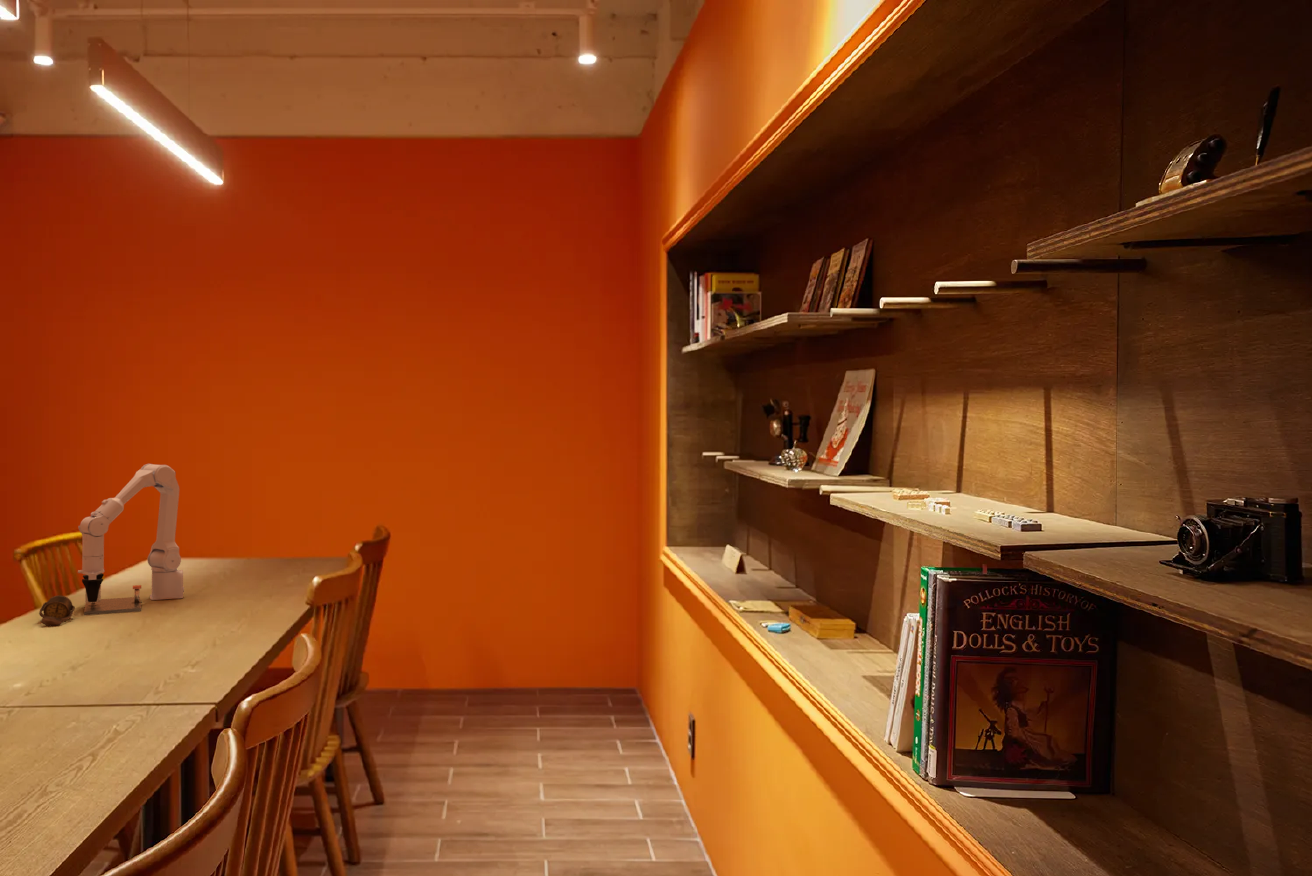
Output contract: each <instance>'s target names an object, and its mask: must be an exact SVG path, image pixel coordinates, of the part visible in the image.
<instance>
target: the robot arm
mask: <svg viewBox="0 0 1312 876" xmlns="http://www.w3.org/2000/svg"><path fill="white" fill-rule="evenodd" d="M147 487H154V488H155V489H156V490H157V492H159V494H160V495H159V506H158V507H159V509H158V517H157V519H158V520H157V528H156V540H155V542H154V543H152V545H151V548H150V552H149V553H148V555H147V564H148V566H149V567H150V568H151V569H150V570H151V594H150V595H149V597H150V598H149V599H150V601H157V600H171V599H183V598H184V592H185V587H184V570H183V569H178V568H179V567H180V565H181V562H182V556H181V555H180V546H178V544H177V543H176V531H177V522H178V521H177V520H178V510H179V508H178V507H179V499H180V485H179V483H178V480H177V477H176V471H175V470H174V469H173V468H172V467H171V466H169V465H167V464H153V463H146V464H143V466H141V468H140V469H139V470H136V471H135V474H134V475H133V477H132V478H131V479H130V480H129V482H127V484H126V485H125V486H124V487H122V489H121V490H120V492H119V493H117V494H116V496H115V497H109V498H107V499H103V500H102V501H101V505H100V506H99V507H97V508H96V509H95V511H92V512H91V513H90V516H86V517H84V518H83V519H82V520H81V521H80V524H79V525H78V526H77V527H78V531H79V533H80V534H81V537H82V549H81V550H82V558H81V559H82V560H81V561H82V565H81V569H80V570H79V569H78V570H77V574H83V575H82V578H81V583H82V585H83V586H84V588H85V594H86V593H87V598H88V602H96V601H97V598H98V592H99V588H100V585H101V586H102V583H103V581H104V579H103V578H104V573H105V567H104V566H105V565H104V564H105V561H104V559H105V555H104V554H105V549H104V548H105V534H107V532H108V531H109V526H110V524H112V522H113V521H115V519H116V518H117V517H118V516H119V515H120V514H121V513H122V512H123V511H124V508H125V504H127V502H129V501H130V500H131V499H132V498H133V497H134V496H135V495H137V494H138V493H139V492H140V491H141V490H142V489H144V488H147Z"/></svg>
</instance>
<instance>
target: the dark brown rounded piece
mask: <svg viewBox="0 0 1312 876" xmlns="http://www.w3.org/2000/svg"><path fill="white" fill-rule="evenodd" d="M75 607H76V606H74V605H73V602H72V600H71V599H70V598H69V597H67V596H65V595H54V596H52V597H50V599H48V601H46V602H43V604H42V606H41V608H40V609H39V613H38V614H39V616H40V617H41V619H40V622H41V623H42V624H43V625H44V626H47V627H56V626H61V624H63V622H65V621H67V620H69V619H70V618H71V617H72V616H73V613H74V611H75Z"/></svg>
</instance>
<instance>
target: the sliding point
mask: <svg viewBox="0 0 1312 876" xmlns="http://www.w3.org/2000/svg"><path fill="white" fill-rule="evenodd" d="M101 599H102V584H101V585H100V588H99V592H98V598H97V601H96V602H101ZM87 602H88V598H87V593H86V592H85V604H86V603H87ZM94 604H95V602H91V605H94Z"/></svg>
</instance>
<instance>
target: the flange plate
mask: <svg viewBox="0 0 1312 876" xmlns="http://www.w3.org/2000/svg"><path fill="white" fill-rule="evenodd" d="M140 589H142V585H141V584H138V585H132V590H134V593H133V594H134V596H132V597H129V596H128V597H117V598H116V597H115V598H101V602H95V604H94V605H91V602H87V603H85V606H84V611H83V614H84V615H83V616H92V615H105V614H119V613H123V614H124V613H135V612H137V613H138V612H142V603H143V601H141V596H140Z"/></svg>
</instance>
